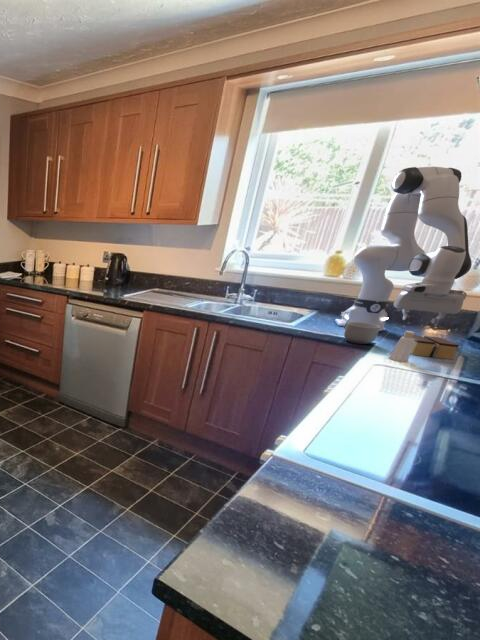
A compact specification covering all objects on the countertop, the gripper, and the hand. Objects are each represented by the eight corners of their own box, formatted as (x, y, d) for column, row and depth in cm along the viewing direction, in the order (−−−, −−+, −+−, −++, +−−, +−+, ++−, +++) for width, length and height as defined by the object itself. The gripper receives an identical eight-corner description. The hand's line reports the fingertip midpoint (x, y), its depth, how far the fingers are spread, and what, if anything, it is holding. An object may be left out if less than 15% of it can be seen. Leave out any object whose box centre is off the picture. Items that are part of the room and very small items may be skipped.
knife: (401, 343, 185) (405, 333, 183) (408, 344, 184) (413, 334, 182) (429, 357, 166) (434, 346, 164) (437, 358, 165) (442, 347, 163)
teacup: (379, 346, 178) (387, 328, 175) (350, 344, 180) (357, 326, 177) (358, 338, 190) (365, 320, 188) (331, 336, 192) (337, 318, 190)
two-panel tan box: (397, 347, 179) (403, 333, 176) (434, 351, 174) (440, 337, 172) (412, 354, 168) (418, 340, 166) (451, 359, 164) (458, 345, 162)
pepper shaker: (409, 362, 158) (422, 334, 154) (390, 360, 160) (402, 331, 156) (405, 359, 162) (418, 331, 158) (386, 356, 165) (398, 328, 160)
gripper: (463, 289, 171) (447, 322, 176) (399, 284, 178) (385, 316, 184) (473, 292, 166) (456, 326, 171) (407, 287, 173) (392, 320, 178)
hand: (419, 321), depth 177 cm, fingers open, 8 cm apart
